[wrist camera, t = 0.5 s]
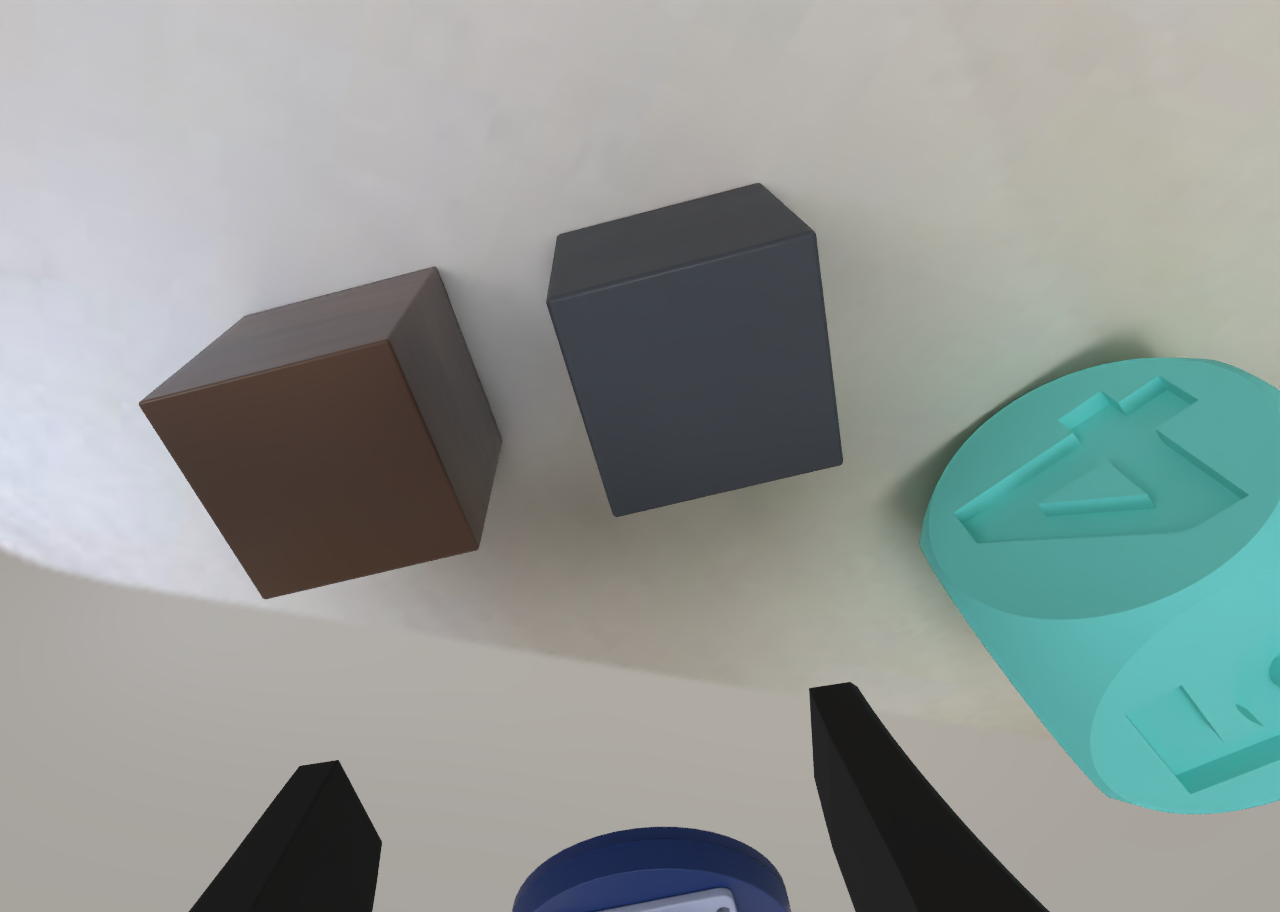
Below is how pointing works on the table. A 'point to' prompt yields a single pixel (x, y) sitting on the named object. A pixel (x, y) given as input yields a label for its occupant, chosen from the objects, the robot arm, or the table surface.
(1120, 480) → the decorative dice
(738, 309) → the grey block
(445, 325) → the walnut block
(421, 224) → the table surface
